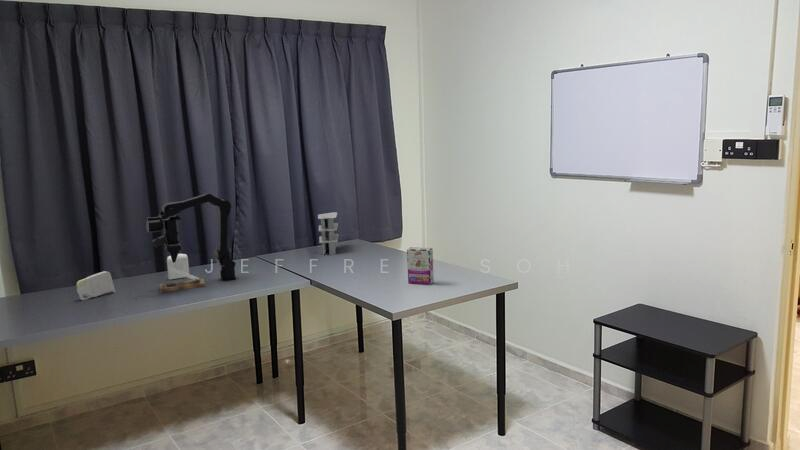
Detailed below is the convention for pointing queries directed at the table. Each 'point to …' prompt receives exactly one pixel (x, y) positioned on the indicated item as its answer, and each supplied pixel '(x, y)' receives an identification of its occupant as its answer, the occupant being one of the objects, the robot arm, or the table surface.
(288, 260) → the table surface
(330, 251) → the file organizer
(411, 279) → the candy bar box
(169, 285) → the walnut board
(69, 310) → the table surface
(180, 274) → the bar
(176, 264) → the photo printer
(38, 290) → the table surface
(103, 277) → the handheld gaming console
